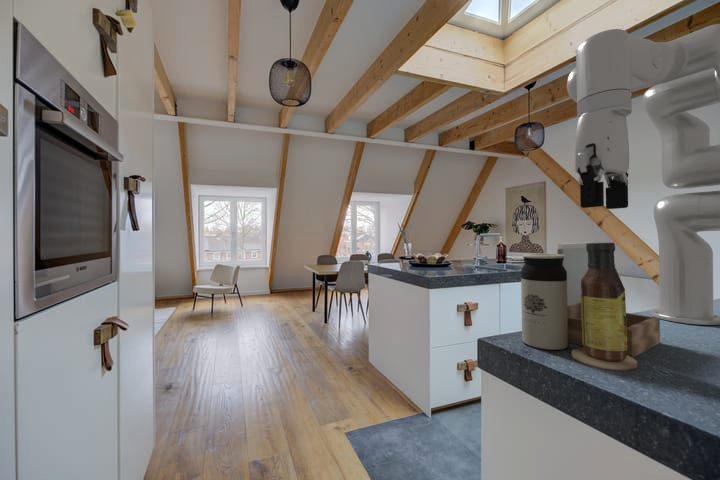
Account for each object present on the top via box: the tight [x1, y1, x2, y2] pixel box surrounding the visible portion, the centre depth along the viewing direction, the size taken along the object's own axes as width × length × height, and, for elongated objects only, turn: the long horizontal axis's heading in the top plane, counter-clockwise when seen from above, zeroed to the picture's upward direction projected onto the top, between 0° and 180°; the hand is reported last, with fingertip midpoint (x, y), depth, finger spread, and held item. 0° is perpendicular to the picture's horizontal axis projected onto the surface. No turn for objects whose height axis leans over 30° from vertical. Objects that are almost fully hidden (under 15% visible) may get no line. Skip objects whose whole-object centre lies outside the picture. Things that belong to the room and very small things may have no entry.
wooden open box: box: [567, 303, 661, 359], centre depth 65 cm, size 14×12×7 cm
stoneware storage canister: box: [520, 253, 569, 351], centre depth 64 cm, size 8×8×18 cm
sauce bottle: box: [581, 242, 627, 361], centre depth 55 cm, size 7×6×20 cm
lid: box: [556, 242, 588, 306], centre depth 69 cm, size 15×1×20 cm, turn 122°
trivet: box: [571, 347, 638, 372], centre depth 55 cm, size 9×9×1 cm
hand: (605, 207), depth 56 cm, fingers open, 9 cm apart
